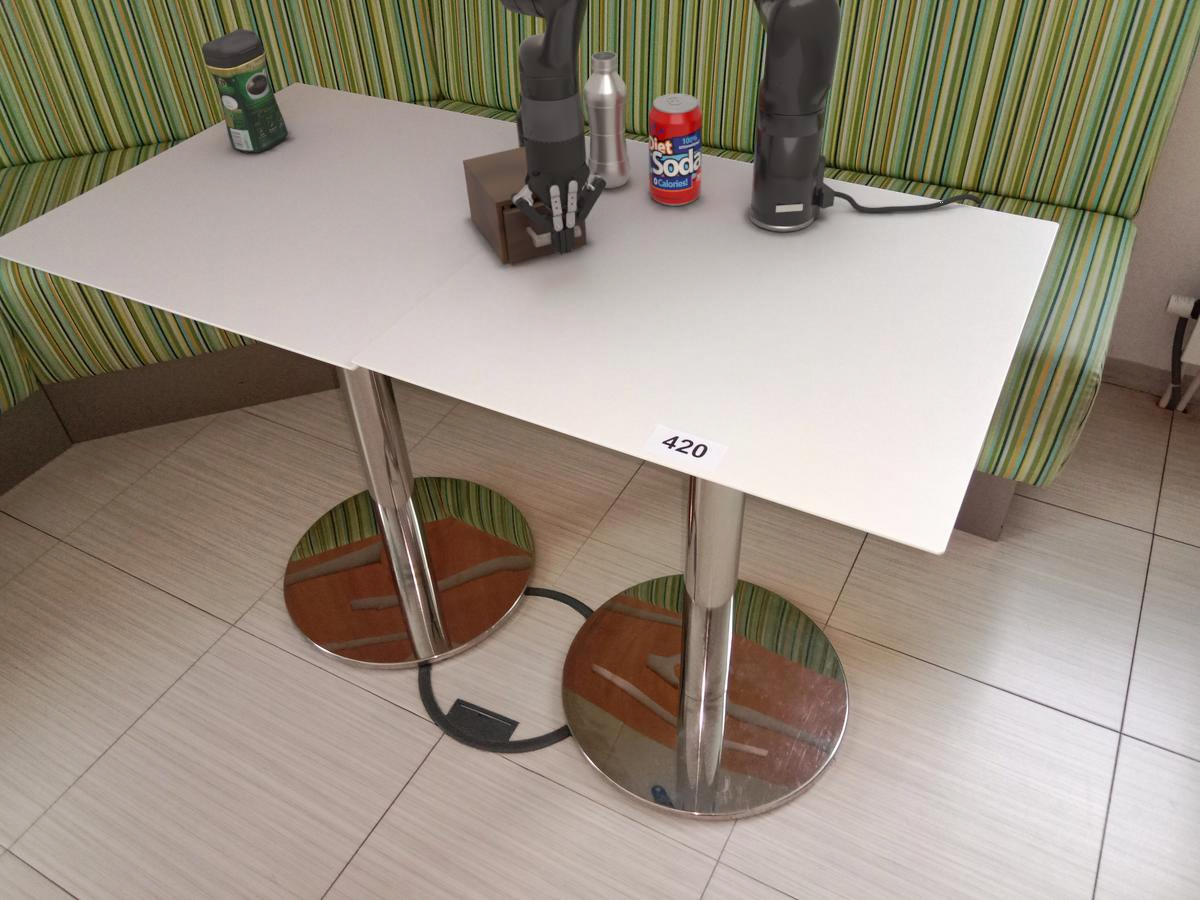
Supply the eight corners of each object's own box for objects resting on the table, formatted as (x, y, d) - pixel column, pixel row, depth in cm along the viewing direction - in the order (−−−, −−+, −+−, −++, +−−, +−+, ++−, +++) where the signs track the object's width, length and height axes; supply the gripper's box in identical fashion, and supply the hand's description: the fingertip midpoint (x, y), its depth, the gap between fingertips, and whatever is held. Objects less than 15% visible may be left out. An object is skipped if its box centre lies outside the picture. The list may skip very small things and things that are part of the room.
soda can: (691, 182, 153) (693, 87, 143) (707, 205, 147) (710, 108, 137) (643, 189, 151) (641, 95, 141) (657, 213, 146) (657, 116, 136)
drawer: (599, 260, 135) (597, 209, 129) (523, 280, 132) (517, 229, 126) (552, 205, 147) (547, 156, 142) (481, 222, 144) (474, 173, 139)
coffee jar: (264, 128, 176) (233, 22, 163) (296, 136, 172) (267, 28, 160) (224, 149, 170) (189, 41, 157) (256, 158, 166) (223, 48, 154)
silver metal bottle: (627, 194, 151) (623, 64, 137) (584, 192, 152) (576, 63, 138) (634, 175, 155) (631, 48, 142) (593, 173, 156) (586, 47, 143)
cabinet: (585, 243, 140) (581, 181, 134) (503, 264, 137) (495, 202, 130) (548, 201, 150) (543, 141, 144) (471, 220, 147) (462, 160, 140)
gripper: (590, 104, 123) (597, 226, 134) (492, 126, 119) (508, 250, 131) (615, 125, 118) (620, 251, 129) (513, 149, 114) (527, 276, 126)
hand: (563, 250), depth 130 cm, fingers closed
